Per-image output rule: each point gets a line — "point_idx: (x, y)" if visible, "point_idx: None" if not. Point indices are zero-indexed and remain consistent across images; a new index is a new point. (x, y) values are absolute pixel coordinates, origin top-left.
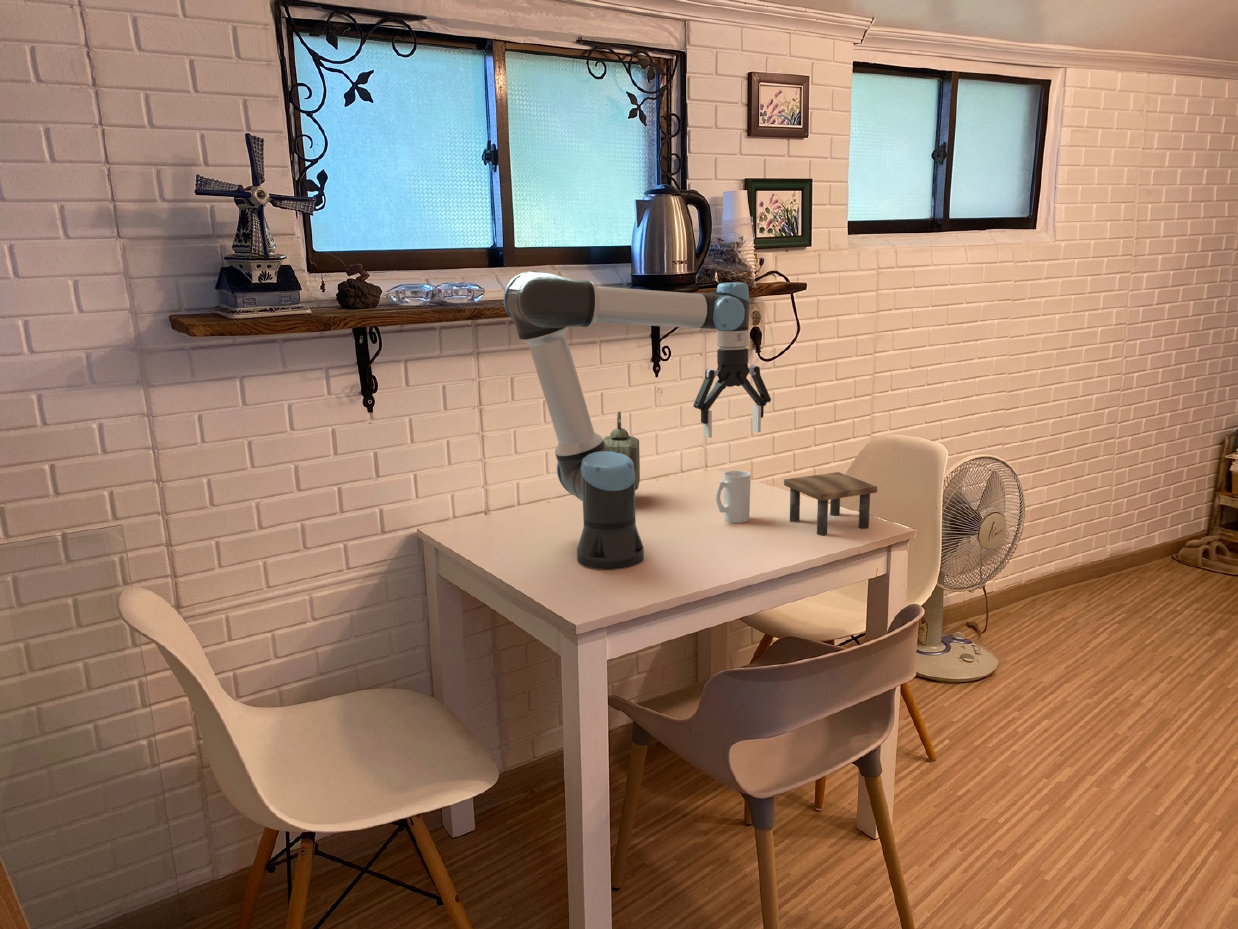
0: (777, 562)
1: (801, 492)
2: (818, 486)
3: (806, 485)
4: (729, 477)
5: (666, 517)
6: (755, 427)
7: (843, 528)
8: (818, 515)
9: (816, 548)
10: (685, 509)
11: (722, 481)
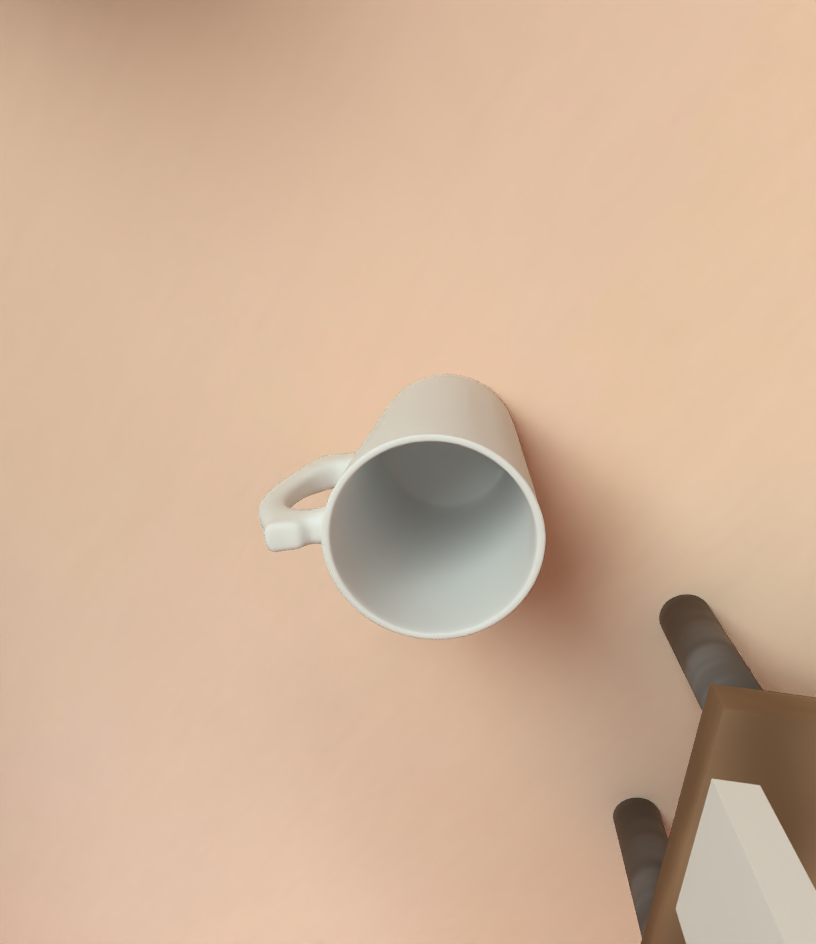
0: (262, 932)
1: (664, 858)
2: None
3: None
4: (332, 573)
5: (126, 177)
6: (708, 906)
7: None
8: (632, 890)
9: (484, 912)
10: (303, 82)
11: (290, 537)
